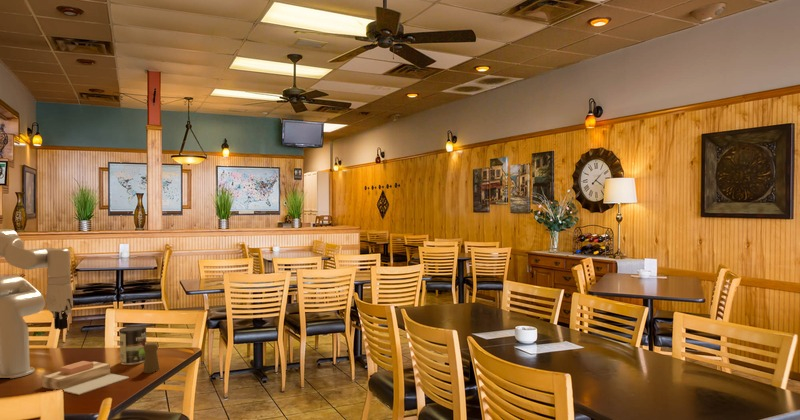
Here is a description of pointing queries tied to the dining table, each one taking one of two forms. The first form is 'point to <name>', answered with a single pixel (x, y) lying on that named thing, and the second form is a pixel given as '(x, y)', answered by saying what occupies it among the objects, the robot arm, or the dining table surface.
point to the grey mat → (94, 384)
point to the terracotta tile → (76, 367)
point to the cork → (151, 358)
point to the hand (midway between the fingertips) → (61, 328)
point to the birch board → (74, 376)
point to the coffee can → (132, 345)
